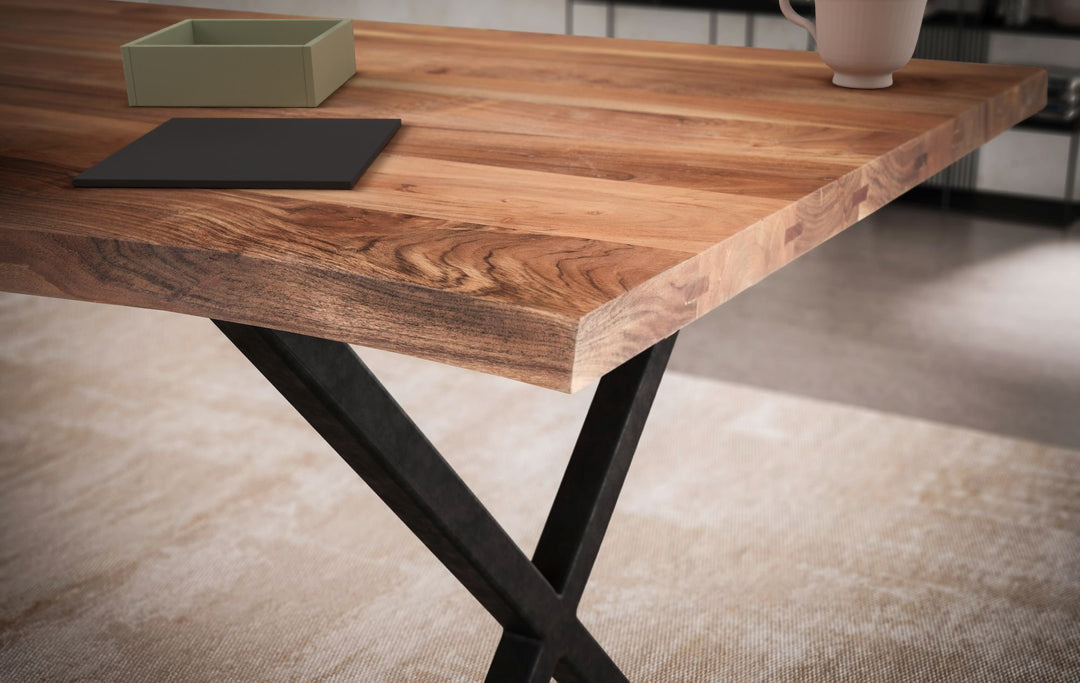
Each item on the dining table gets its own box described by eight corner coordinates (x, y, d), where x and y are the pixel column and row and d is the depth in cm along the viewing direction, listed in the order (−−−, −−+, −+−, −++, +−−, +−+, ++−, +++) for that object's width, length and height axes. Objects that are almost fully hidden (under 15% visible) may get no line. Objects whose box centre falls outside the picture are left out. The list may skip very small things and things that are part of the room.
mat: (72, 186, 82) (71, 178, 82) (173, 124, 101) (172, 117, 101) (351, 189, 81) (350, 181, 81) (401, 125, 100) (401, 118, 99)
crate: (128, 106, 108) (119, 46, 106) (193, 72, 124) (186, 19, 122) (316, 107, 107) (310, 46, 105) (356, 72, 123) (352, 18, 121)
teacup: (792, 66, 123) (799, -32, 119) (937, 78, 117) (950, -27, 113) (755, 86, 114) (761, -21, 110) (910, 100, 107) (923, -14, 103)
